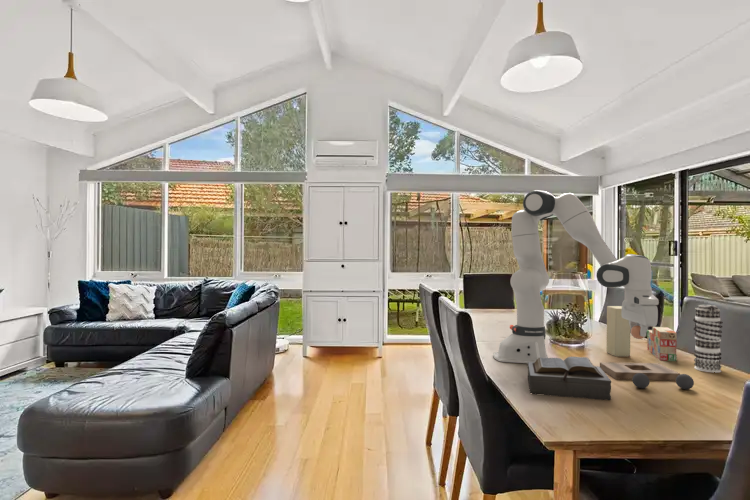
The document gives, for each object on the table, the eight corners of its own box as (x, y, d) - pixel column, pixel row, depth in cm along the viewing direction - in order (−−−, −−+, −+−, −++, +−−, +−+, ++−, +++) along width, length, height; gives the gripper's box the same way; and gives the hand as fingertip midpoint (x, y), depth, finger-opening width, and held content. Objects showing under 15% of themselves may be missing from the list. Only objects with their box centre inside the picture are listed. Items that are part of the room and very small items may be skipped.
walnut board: (615, 379, 162) (615, 372, 162) (599, 368, 176) (599, 362, 176) (679, 380, 160) (679, 373, 160) (658, 369, 174) (658, 363, 174)
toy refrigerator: (632, 356, 195) (632, 308, 195) (615, 356, 195) (615, 308, 195) (622, 352, 203) (622, 306, 203) (606, 352, 203) (606, 306, 203)
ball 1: (636, 390, 149) (636, 375, 149) (629, 385, 154) (629, 371, 154) (652, 390, 149) (652, 375, 149) (644, 385, 154) (644, 371, 154)
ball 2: (681, 391, 148) (681, 376, 148) (672, 386, 153) (672, 371, 153) (697, 391, 148) (697, 376, 148) (688, 386, 153) (688, 372, 153)
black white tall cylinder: (713, 374, 168) (713, 307, 168) (687, 367, 177) (687, 304, 176) (728, 371, 172) (728, 306, 172) (702, 365, 180) (702, 303, 180)
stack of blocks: (646, 349, 209) (646, 323, 209) (662, 350, 207) (662, 323, 207) (659, 360, 189) (659, 331, 189) (676, 361, 187) (676, 332, 187)
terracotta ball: (634, 340, 166) (634, 326, 166) (628, 337, 171) (628, 324, 171) (649, 340, 165) (648, 326, 165) (642, 337, 170) (642, 324, 170)
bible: (611, 406, 135) (611, 374, 135) (518, 393, 148) (518, 363, 148) (610, 385, 156) (610, 357, 156) (529, 375, 168) (529, 349, 168)
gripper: (616, 294, 178) (617, 329, 178) (642, 300, 158) (642, 339, 158) (633, 294, 178) (633, 329, 178) (661, 300, 157) (661, 340, 157)
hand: (638, 334), depth 168 cm, fingers closed on terracotta ball, 5 cm apart
